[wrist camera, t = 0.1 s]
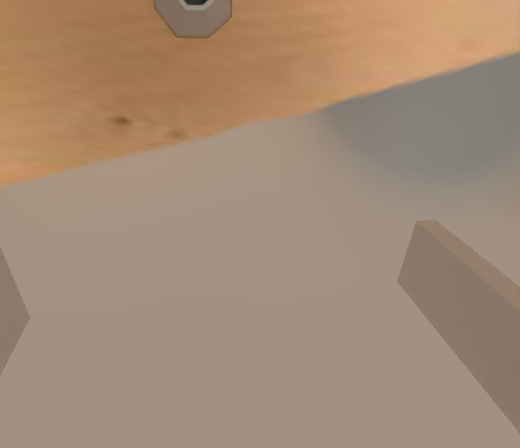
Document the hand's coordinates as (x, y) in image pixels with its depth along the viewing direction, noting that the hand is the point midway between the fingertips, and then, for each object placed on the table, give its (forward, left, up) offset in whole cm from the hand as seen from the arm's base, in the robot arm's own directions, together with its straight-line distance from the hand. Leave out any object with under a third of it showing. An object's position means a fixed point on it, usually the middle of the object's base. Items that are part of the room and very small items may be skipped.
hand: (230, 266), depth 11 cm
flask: (-9, 0, -28) cm, 30 cm away
